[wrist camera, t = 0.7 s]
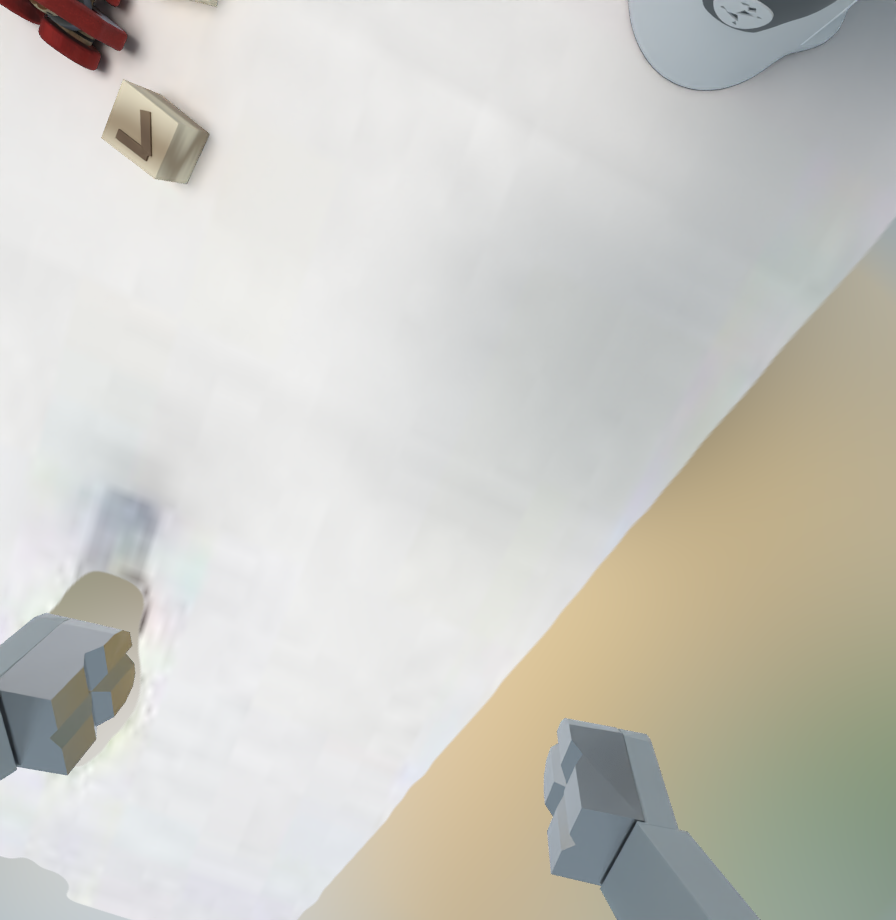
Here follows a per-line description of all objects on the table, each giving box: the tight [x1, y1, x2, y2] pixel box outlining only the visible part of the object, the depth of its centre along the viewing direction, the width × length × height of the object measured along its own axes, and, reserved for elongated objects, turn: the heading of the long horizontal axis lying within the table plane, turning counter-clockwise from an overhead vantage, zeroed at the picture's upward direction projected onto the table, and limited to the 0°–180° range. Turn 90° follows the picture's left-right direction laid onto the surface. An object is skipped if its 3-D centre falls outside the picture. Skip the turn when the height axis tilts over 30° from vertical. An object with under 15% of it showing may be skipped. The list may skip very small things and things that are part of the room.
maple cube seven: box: [101, 79, 209, 184], centre depth 44 cm, size 5×5×5 cm
